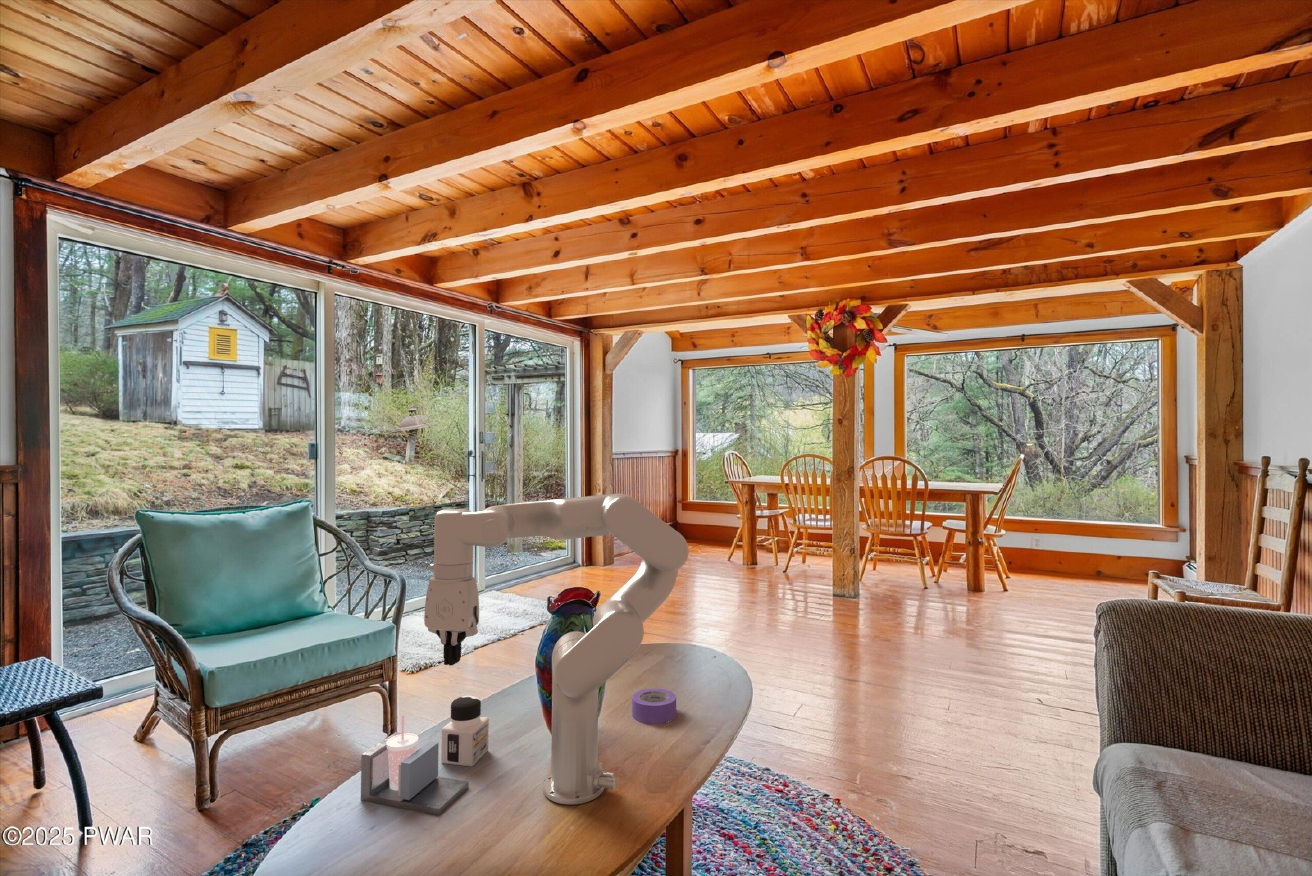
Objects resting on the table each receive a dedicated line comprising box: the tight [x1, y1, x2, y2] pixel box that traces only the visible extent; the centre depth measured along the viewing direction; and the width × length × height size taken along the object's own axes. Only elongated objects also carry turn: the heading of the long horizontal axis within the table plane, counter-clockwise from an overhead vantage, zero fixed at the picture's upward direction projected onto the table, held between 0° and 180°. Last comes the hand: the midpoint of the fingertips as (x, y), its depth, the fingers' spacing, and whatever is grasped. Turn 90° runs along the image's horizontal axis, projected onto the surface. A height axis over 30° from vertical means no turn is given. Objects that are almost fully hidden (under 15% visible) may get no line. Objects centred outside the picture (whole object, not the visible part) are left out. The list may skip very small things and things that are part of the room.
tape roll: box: [631, 687, 677, 725], centre depth 162 cm, size 12×12×5 cm
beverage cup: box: [386, 714, 419, 791], centre depth 125 cm, size 6×6×14 cm
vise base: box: [360, 731, 470, 816], centre depth 124 cm, size 18×10×9 cm, turn 74°
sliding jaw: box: [398, 740, 440, 800], centre depth 124 cm, size 2×9×7 cm, turn 164°
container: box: [440, 695, 490, 767], centre depth 139 cm, size 8×8×13 cm
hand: (452, 663), depth 122 cm, fingers closed
